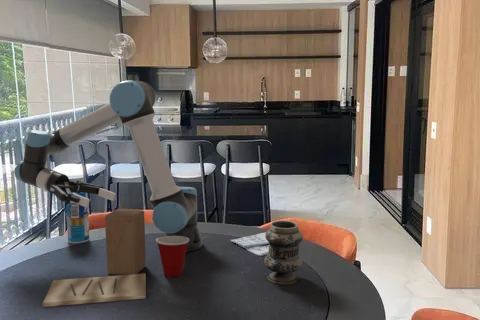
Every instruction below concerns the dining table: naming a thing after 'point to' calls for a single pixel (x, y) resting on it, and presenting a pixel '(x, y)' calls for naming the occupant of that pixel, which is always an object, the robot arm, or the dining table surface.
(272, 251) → the apothecary jar
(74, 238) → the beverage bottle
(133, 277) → the board
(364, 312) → the dining table surface
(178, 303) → the dining table surface
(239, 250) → the dining table surface
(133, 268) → the wooden block
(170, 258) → the plastic cup
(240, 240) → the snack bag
